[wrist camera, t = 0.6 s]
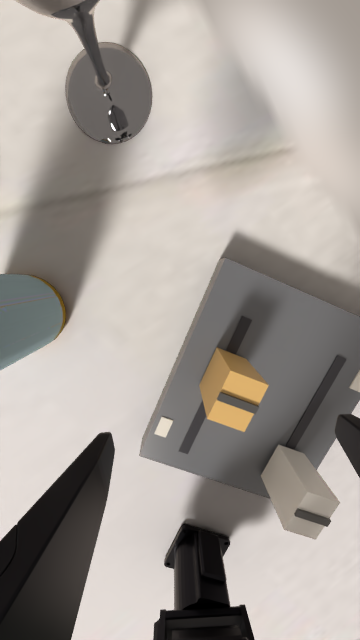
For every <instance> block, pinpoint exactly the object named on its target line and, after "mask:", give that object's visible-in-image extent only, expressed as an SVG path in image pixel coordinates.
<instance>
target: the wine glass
mask: <svg viewBox="0 0 360 640" xmlns="http://www.w3.org/2000/svg"><path fill="white" fill-rule="evenodd" d="M15 1H16V2H18V3H20V4H21V5H23V6H25V7H27V8H29V9H31V10H33V11H34V12H36V13H38V14H41V15H44V16H47V17H50V18H55V19H60V20H64V21H66V22H67V23H68V24H69V25H70V26H71V27H72V28H73V29H74V31H75V32H76V34H77V36H78V37H79V39H80V41H81V43H82V45H83V47H84V48H85V49H83V50H82V51H81V52H80V53H79V54H78V55H77V56H76V57H75V59H74V60H73V61H72V63H71V66H70V68H69V70H68V74H67V77H66V85H65V90H66V100H67V105H68V108H69V111H70V113H71V115H72V117H73V119H74V121H75V122H76V124H77V125H78V127H79V128H80V129H81V130H82V131H83V132H84V133H85V134H87V135H88V136H89V137H91V138H93V139H95V140H97V141H99V142H103V143H108V144H116V143H122V142H125V141H127V140H129V139H131V138H133V137H134V136H135V135H136V134H138V133H139V132H140V130H141V129H142V128H143V127H144V125H145V123H146V121H147V119H148V117H149V114H150V110H151V105H152V91H151V84H150V81H149V77H148V75H147V73H146V70H145V68H144V67H143V65H142V64H141V62H140V61H139V60H138V59H137V57H136V56H135V55H134V54H133V53H131V52H130V51H129V50H128V49H126V48H124V47H122V46H120V45H117V44H114V43H108V42H102V43H98V40H97V36H96V30H95V24H94V11H95V7H96V6H97V4H98V3H99V1H100V0H15Z"/></svg>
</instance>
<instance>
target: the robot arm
mask: <svg viewBox="0 0 360 640" xmlns="http://www.w3.org/2000/svg"><path fill="white" fill-rule="evenodd" d="M335 435H336V437H337V439H338V441H339V443H340V444H341V446H342V448H343V450H344V451H345V453H346V455H347V457H348V458H349V460H350V462H351V464H352V465H353V467H354V469H355V471H356V472H357V474H358V476H359V477H360V418H358V417H356V416H354V415H352V414H340V415H338V417H337V421H336V426H335ZM114 453H115V448H114V443H113V439H112V434H111V433H110V432H104V433H100V434H98V435H97V437H96V438H95V439H94V440H93V441H92V442H91V443H90V444H89V445H88V446H87V447H86V449H85V450H84V451H83V452H82V453H81V454H80V455H79V456H78V457H77V458H76V459H75V461H74V462H73V463H72V464H71V465H70V466H69V467H68V468H67V469H66V470H65V471H64V472H63V474H62V475H61V476H60V477H59V478H58V479H57V480H56V481H55V482H54V483H53V484H52V486H51V487H50V488H49V489H48V490H47V491H46V492H45V493H44V494H43V495H42V496H41V498H40V499H39V500H38V501H37V502H36V503H35V504H34V505H33V506H32V507H31V508H30V509H29V511H28V512H27V513H26V514H25V515H24V516H23V517H22V518H21V519H20V520H19V521H18V523H17V525H15V526H14V527H13V528H12V529H11V530H10V531H9V532H8V533H7V534H6V535H5V537H4V538H3V539H2V540H1V541H0V640H71V637H72V633H73V630H74V626H75V622H76V618H77V614H78V610H79V606H80V602H81V599H82V595H83V591H84V587H85V583H86V579H87V575H88V572H89V568H90V564H91V560H92V556H93V552H94V548H95V544H96V541H97V537H98V533H99V529H100V525H101V521H102V517H103V513H104V510H105V506H106V501H107V497H108V491H109V485H110V479H111V472H112V466H113V460H114ZM229 545H230V540H229V538H228V537H226V536H223V535H219V534H216V533H213V532H209V531H206V530H203V529H199V528H196V527H193V526H189V525H182V526H181V528H180V530H179V532H178V534H177V536H176V538H175V540H174V542H173V544H172V546H171V548H170V550H169V552H168V554H167V556H166V558H165V560H164V565H165V566H166V567H169V568H173V569H174V610H171V611H166V609H164V610H160V619H159V620H158V621H157V622H156V623H154V639H153V640H254V636H253V632H252V629H251V625H250V621H249V618H248V614H247V611H246V607H245V605H239V606H236V607H230V601H229V596H228V590H227V584H226V574H225V568H224V563H223V556H224V554H225V552H226V550H227V549H228V547H229Z"/></svg>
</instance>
